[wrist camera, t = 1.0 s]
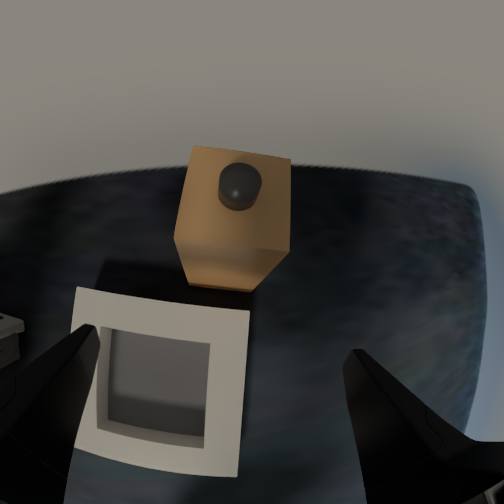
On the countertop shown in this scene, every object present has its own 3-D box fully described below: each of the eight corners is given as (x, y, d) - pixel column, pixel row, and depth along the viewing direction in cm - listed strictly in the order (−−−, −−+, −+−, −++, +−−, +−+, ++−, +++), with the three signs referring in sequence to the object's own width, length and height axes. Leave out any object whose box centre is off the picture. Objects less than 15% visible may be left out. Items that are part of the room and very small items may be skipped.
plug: (250, 292, 22) (297, 242, 11) (189, 285, 22) (170, 227, 10) (255, 229, 24) (297, 137, 13) (198, 222, 23) (195, 122, 12)
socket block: (233, 461, 18) (237, 477, 15) (84, 435, 16) (71, 445, 13) (244, 314, 22) (249, 311, 19) (91, 293, 20) (77, 286, 17)
